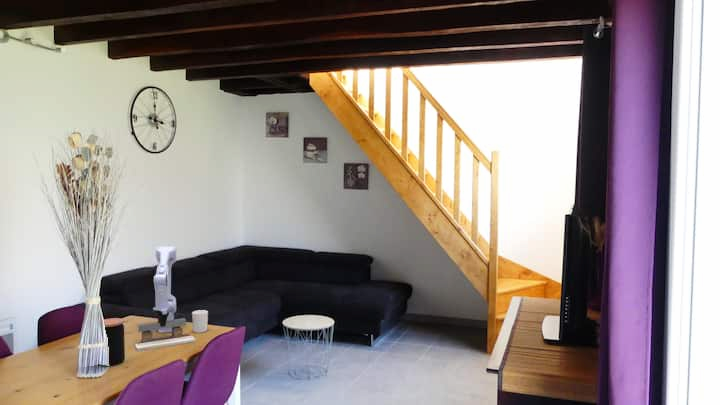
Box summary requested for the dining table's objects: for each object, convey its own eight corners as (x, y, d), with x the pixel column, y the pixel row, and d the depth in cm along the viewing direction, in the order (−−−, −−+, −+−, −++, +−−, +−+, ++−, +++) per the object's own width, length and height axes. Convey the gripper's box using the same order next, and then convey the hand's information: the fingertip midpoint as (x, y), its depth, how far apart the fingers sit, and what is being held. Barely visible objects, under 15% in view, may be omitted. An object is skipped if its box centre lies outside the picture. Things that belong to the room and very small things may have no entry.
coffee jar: (93, 362, 228) (92, 321, 228) (118, 356, 236) (117, 316, 235) (103, 368, 221) (102, 326, 220) (129, 362, 229) (128, 321, 228)
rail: (137, 330, 255) (137, 324, 255) (184, 324, 267) (184, 318, 266) (138, 332, 253) (138, 325, 253) (185, 325, 264) (185, 319, 264)
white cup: (205, 333, 272) (205, 313, 271) (190, 333, 272) (189, 313, 271) (210, 328, 280) (209, 310, 279) (195, 328, 280) (195, 310, 279)
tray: (135, 347, 249) (135, 344, 249) (191, 338, 263) (191, 335, 263) (137, 351, 243) (137, 348, 243) (195, 342, 257) (195, 339, 257)
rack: (140, 341, 258) (140, 330, 257) (181, 335, 267) (180, 325, 267) (142, 345, 252) (142, 333, 252) (183, 338, 262) (183, 328, 262)
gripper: (150, 296, 263) (151, 323, 264) (155, 302, 251) (156, 330, 251) (165, 294, 267) (165, 321, 267) (171, 300, 254) (171, 328, 255)
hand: (162, 325), depth 260 cm, fingers closed on rail, 3 cm apart
